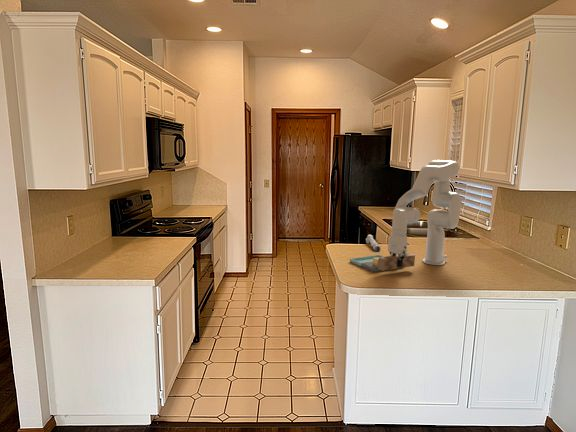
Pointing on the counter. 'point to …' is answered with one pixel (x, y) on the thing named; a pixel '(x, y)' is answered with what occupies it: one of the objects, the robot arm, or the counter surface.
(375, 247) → the white long cylinder
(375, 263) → the brass block
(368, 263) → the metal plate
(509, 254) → the counter surface
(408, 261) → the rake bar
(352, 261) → the teal tray
